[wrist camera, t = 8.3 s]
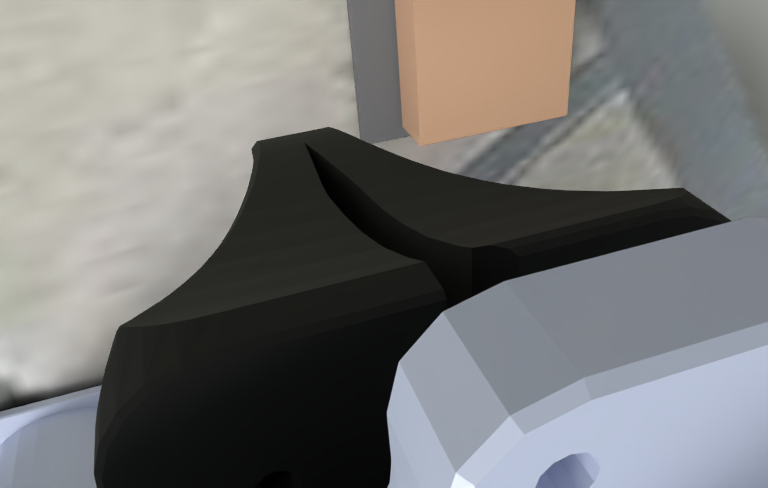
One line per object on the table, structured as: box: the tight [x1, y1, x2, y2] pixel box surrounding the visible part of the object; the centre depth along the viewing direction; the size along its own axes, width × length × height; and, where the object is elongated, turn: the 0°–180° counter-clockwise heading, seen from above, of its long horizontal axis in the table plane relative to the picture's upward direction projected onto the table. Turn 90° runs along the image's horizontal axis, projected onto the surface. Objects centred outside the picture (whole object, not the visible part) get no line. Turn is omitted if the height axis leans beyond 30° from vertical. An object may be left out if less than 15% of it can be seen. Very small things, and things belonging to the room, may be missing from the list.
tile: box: [395, 0, 576, 146], centre depth 21 cm, size 5×2×5 cm
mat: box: [347, 0, 410, 144], centre depth 22 cm, size 6×6×1 cm
